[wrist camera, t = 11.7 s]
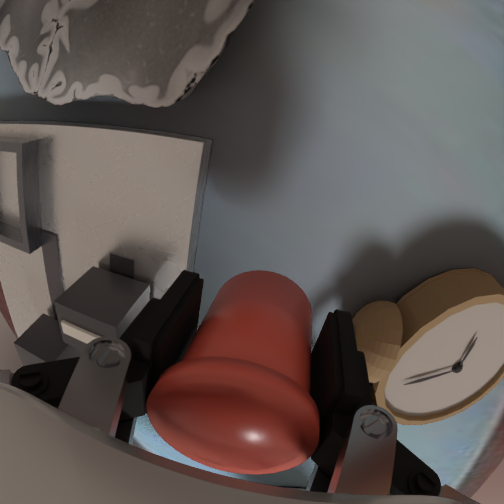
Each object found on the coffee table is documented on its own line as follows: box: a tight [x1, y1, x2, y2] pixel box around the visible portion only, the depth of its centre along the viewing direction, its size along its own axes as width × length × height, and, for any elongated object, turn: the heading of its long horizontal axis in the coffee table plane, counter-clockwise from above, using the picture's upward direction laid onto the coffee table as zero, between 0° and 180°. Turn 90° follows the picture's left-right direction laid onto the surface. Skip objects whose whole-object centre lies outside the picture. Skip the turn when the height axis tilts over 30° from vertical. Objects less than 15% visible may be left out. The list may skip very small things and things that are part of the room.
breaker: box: [14, 313, 83, 366], centre depth 19 cm, size 3×4×4 cm
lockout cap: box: [147, 270, 320, 474], centre depth 10 cm, size 5×5×6 cm
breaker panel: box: [0, 121, 213, 338], centre depth 19 cm, size 21×18×3 cm
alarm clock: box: [352, 268, 504, 425], centre depth 17 cm, size 11×5×15 cm
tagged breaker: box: [54, 266, 150, 351], centre depth 16 cm, size 3×4×4 cm
